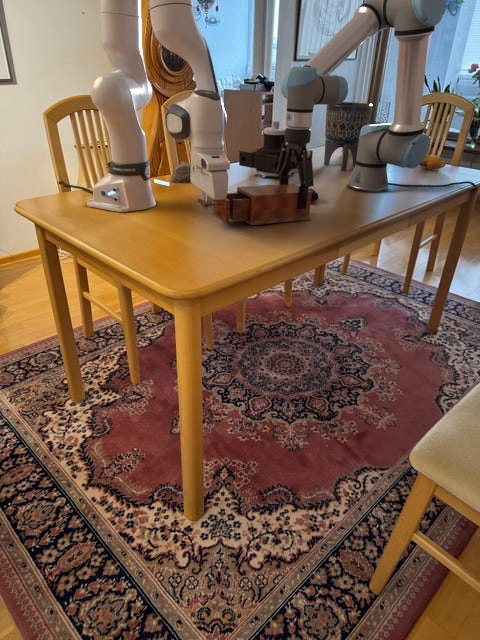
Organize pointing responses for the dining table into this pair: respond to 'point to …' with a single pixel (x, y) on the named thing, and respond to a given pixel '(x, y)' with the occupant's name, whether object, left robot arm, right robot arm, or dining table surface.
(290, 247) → the dining table surface
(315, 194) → the tape measure
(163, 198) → the dining table surface
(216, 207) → the drawer
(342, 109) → the planter
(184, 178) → the rock
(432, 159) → the toy
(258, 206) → the cabinet
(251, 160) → the mechanical component
